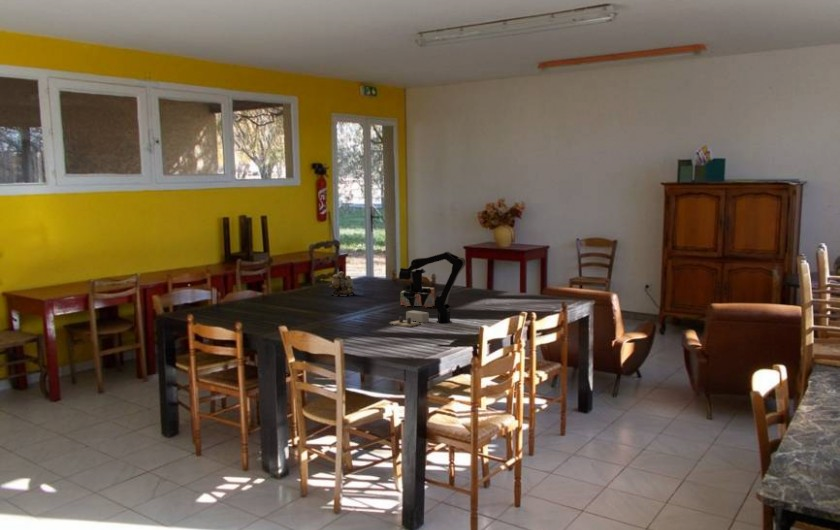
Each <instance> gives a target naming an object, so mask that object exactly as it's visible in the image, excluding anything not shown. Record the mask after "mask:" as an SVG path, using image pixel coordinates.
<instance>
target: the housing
mask: <svg viewBox="0 0 840 530" xmlns="http://www.w3.org/2000/svg"><path fill="white" fill-rule="evenodd" d="M429 316H430V313H429V312H425V311H420V310H408V311H406V312H405V320H406V321H407V318H411V321H412V322H413V321H416V322H418V323H419V322H424V323H427V322H426V321H428V322H430V320H429V319H430V318H429Z"/></svg>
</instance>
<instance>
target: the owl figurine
mask: <svg viewBox="0 0 840 530" xmlns="http://www.w3.org/2000/svg"><path fill="white" fill-rule="evenodd" d="M345 275H346V274H345V272H344V271H338V273H335V274H333V275H332V281H331V285H329V288H330V289H331V290H333V292H331V293H330V295H331V294H332V295H339V296H340V295H350V294H354V293H355V292H354V290H355V289H356V288H355V287H354V279H352V277H351V275H346V276H345Z"/></svg>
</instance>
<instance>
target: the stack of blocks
mask: <svg viewBox="0 0 840 530" xmlns="http://www.w3.org/2000/svg"><path fill="white" fill-rule="evenodd" d="M422 288H430V289H431V293H429V294H430V295H429V296H428V298H427V299H426V302H425V304H424V306H425V307H424V308H427V307H432V306H434V304H435V302H434V301H435V298H436V296H435V293H436V292H435V287H430V286H426V287H425V286H422ZM404 291H405V290H402V291H400V292H399V294H400V299H399V300H400V305H405V306H404V307H407V306H411V305H410V303H409V300H408V299H407V298H405V296H403V293H404ZM414 297H416V298H415V303H414V306H422V304H421V296H420V294H415V296H414ZM434 307H435V306H434ZM432 308H433V307H432Z"/></svg>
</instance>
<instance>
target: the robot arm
mask: <svg viewBox="0 0 840 530" xmlns="http://www.w3.org/2000/svg"><path fill="white" fill-rule="evenodd" d="M444 260H446V261H447V262H448V263H450V264H451V265H452V267H451V272H450V274H449V277H448V279H447V281H446V283H445V286H444V287H443V289H442V292H441V293H440V294H438V295H436V296H435V299H434V307H435V309H436V310H437V321H436V323H438V322H439V324H444V323H446V324H449V322H450V323H452V320H451V312H450V311H451V309H452V307H451V305H449V303H448V302H449V296H450V294H451V291H452V290H453V286H454V285H455V282H456V280H457V278H458V276H459V274H460V273H461V271H462V270H463V269H464V268H465V266H466V264H467V261H466V259H465V258H464V257H459V256H458V255H456V254H453V253H452V252H450V251H445V252H442V253H439V254H435V255H433V256H428V257H417V258H415V259H412V260H411V261H410V262H411V263H410V266H409V267H408V268H406V267H405V268H404V267H400V269H399V273H398V278H399V280H400V281H402V280H403V281H410V280H411V282H410V284H409V285H408V284H403V285H402V291H404V293H403V296H405V298H407V299H408V300H409V303H410V305H411V307H410V308H411V309H414V308H415V307H414V303H415V298H416V297H414V296H415V294H420V296H421V304H422V306H424V304H425V302H426V299H427V298H428V296H429V295H430V294H429V293H431V289H430V288H431V287H430V288H422V287H423V284H424V285H425V282H424V281H423V274H425V273H426V270H425V269H424V268H423V267H425V266H427V265H429V264H433V263H436V262H441V261H444Z"/></svg>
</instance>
